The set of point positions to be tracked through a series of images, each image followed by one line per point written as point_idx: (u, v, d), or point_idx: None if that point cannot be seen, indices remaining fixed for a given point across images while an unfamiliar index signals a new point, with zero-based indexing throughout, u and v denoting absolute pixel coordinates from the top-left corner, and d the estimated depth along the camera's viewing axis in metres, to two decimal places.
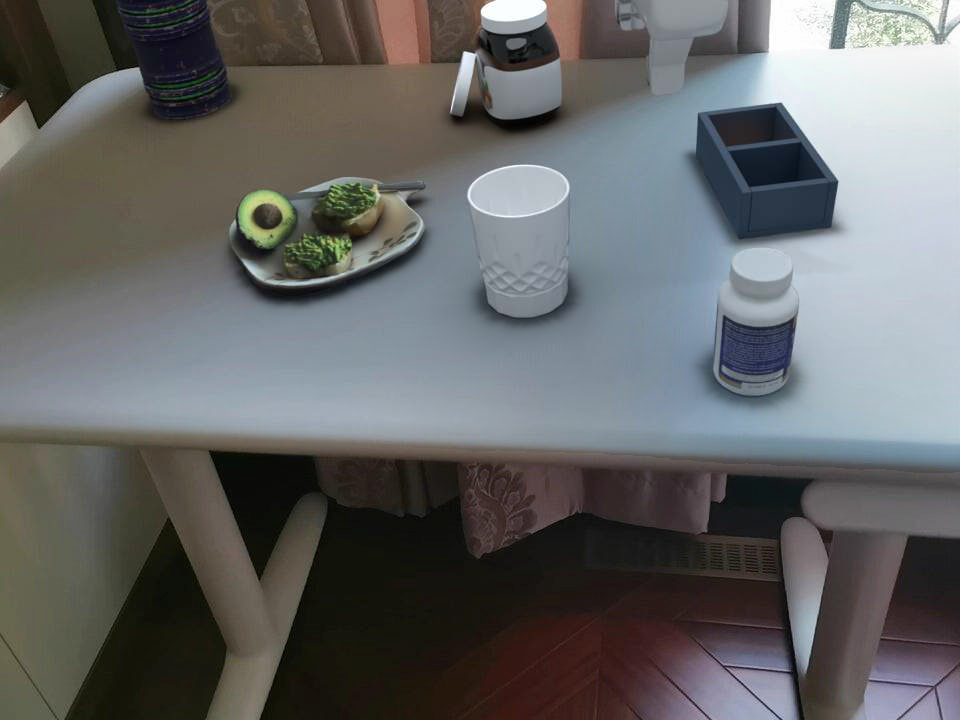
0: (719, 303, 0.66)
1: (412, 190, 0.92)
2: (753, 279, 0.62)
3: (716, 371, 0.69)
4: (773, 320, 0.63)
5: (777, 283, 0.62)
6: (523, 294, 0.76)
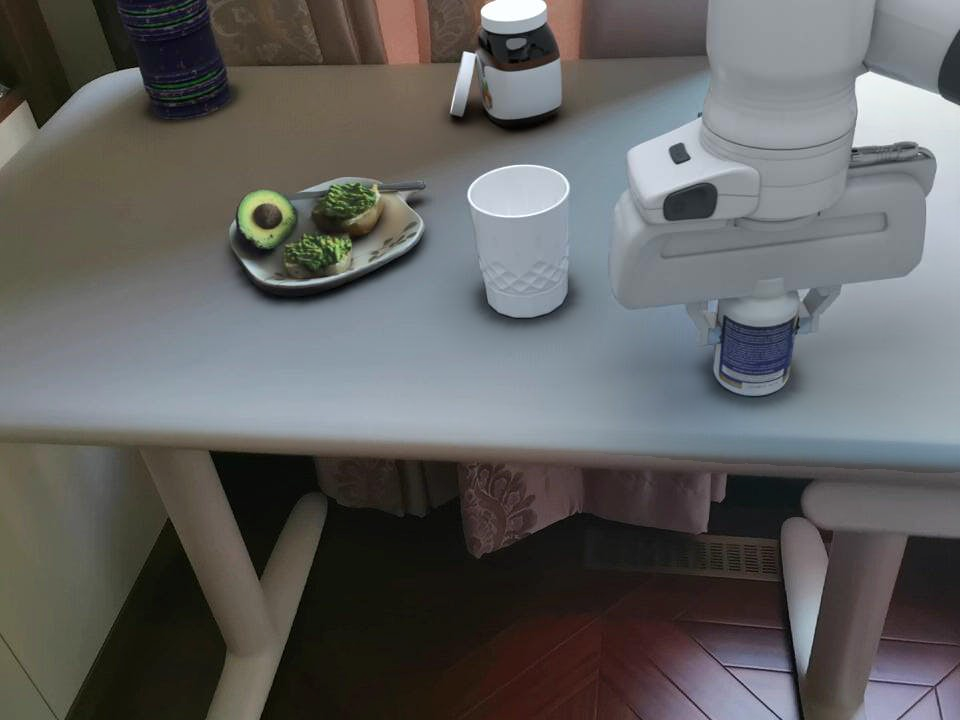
0: (719, 303, 0.65)
1: (412, 190, 0.92)
2: None
3: (716, 371, 0.69)
4: (774, 320, 0.63)
5: (777, 283, 0.62)
6: (523, 294, 0.76)
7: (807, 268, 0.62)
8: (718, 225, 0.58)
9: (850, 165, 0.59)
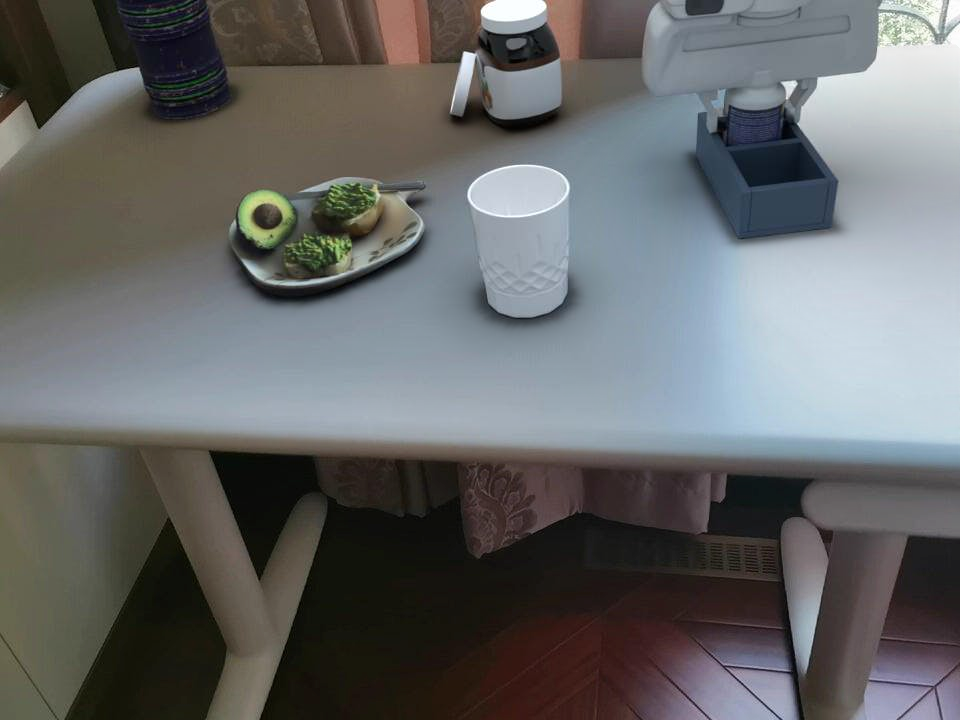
0: (725, 96, 0.87)
1: (412, 190, 0.92)
2: None
3: None
4: (766, 104, 0.85)
5: (769, 74, 0.84)
6: (523, 294, 0.76)
7: (791, 62, 0.83)
8: (725, 20, 0.79)
9: None
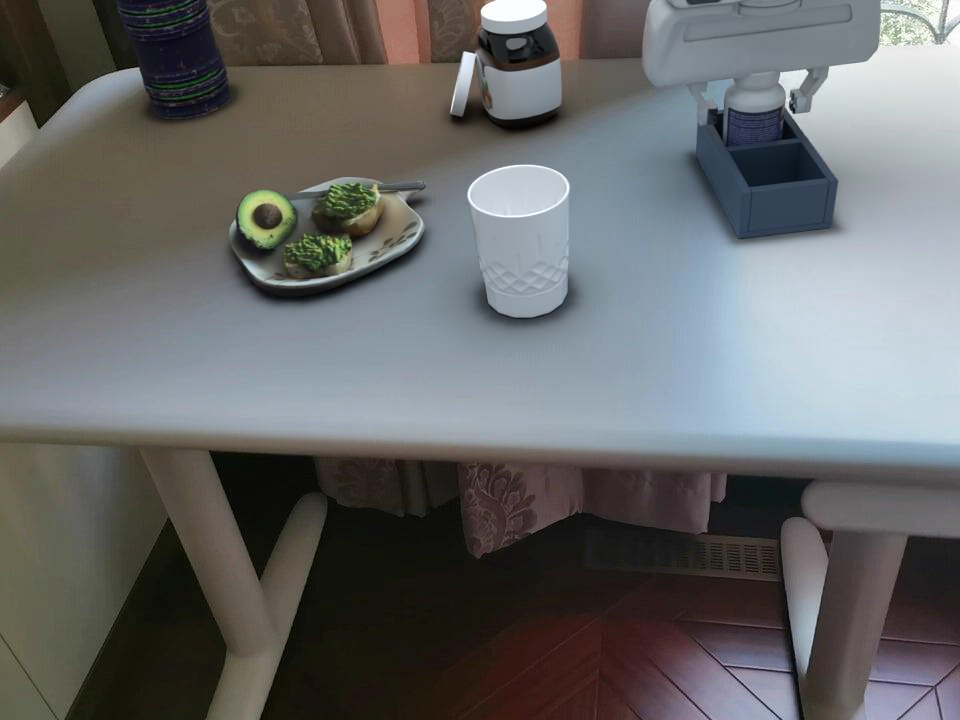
0: (725, 99, 0.87)
1: (412, 190, 0.92)
2: (751, 74, 0.84)
3: None
4: (766, 106, 0.85)
5: (768, 76, 0.84)
6: (523, 294, 0.76)
7: (792, 52, 0.83)
8: (726, 9, 0.79)
9: None
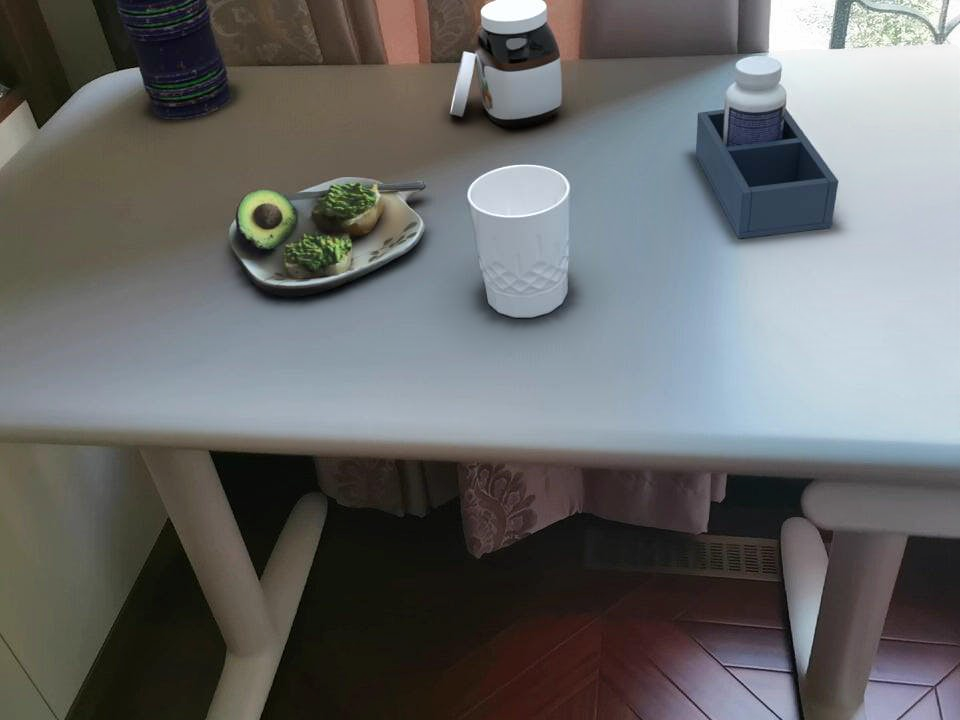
0: (726, 99, 0.87)
1: (412, 190, 0.92)
2: (752, 73, 0.84)
3: None
4: (767, 106, 0.85)
5: (769, 76, 0.84)
6: (523, 294, 0.76)
7: None
8: None
9: None
